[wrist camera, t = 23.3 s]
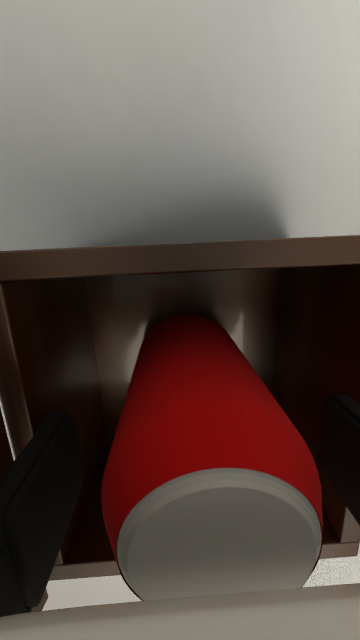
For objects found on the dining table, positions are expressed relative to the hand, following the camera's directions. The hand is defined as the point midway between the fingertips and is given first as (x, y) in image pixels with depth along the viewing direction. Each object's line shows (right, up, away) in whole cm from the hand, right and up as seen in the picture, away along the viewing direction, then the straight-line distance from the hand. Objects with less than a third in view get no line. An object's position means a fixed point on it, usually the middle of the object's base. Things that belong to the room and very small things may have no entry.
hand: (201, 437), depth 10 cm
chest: (0, +2, +9) cm, 9 cm away
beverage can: (0, +2, +8) cm, 8 cm away
